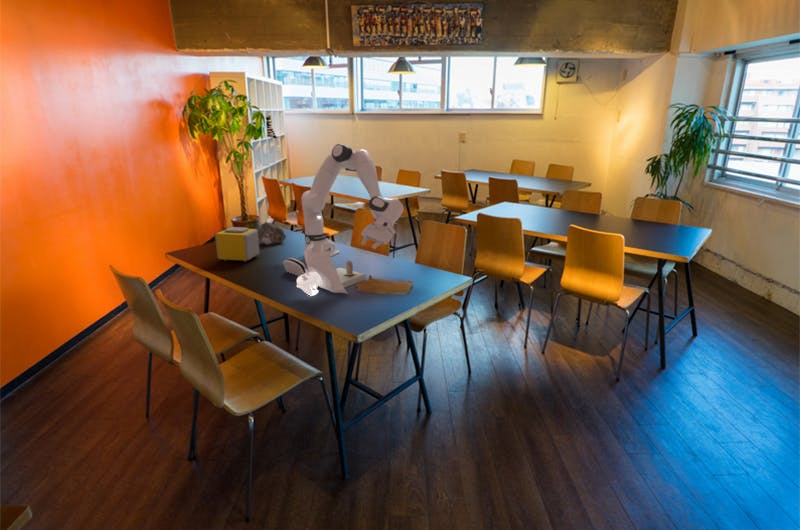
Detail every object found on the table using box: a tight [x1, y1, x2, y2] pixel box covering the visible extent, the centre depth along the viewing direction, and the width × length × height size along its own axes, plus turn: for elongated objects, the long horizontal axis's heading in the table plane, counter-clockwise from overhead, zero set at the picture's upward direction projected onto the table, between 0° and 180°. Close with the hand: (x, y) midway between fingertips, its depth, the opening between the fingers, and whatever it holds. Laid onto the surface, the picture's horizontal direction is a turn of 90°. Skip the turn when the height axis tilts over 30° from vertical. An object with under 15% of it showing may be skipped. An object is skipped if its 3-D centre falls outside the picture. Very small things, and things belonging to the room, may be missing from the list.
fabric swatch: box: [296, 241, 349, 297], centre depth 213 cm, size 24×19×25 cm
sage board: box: [335, 267, 366, 289], centre depth 234 cm, size 18×18×3 cm
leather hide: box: [353, 274, 414, 295], centre depth 223 cm, size 29×26×5 cm
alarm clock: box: [214, 226, 261, 263], centre depth 267 cm, size 20×16×18 cm
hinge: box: [282, 257, 308, 277], centre depth 242 cm, size 17×5×10 cm, turn 48°
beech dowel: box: [345, 260, 354, 277], centre depth 232 cm, size 3×3×11 cm
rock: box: [256, 221, 287, 246], centre depth 304 cm, size 18×14×15 cm
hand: (367, 246), depth 236 cm, fingers open, 8 cm apart
